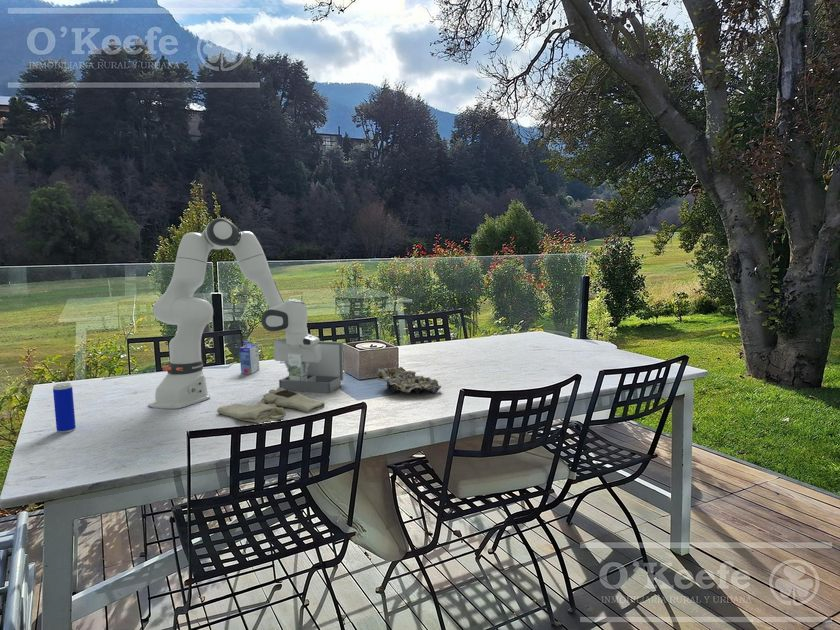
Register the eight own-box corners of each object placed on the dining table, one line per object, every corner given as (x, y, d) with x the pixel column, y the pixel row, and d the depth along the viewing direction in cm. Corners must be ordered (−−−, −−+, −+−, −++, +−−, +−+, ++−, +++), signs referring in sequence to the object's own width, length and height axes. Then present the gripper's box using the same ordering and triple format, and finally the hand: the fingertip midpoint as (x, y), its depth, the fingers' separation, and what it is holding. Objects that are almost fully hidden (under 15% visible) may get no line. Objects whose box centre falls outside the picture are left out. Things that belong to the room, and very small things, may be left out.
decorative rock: (399, 400, 212) (397, 373, 212) (369, 393, 234) (367, 369, 234) (448, 392, 223) (446, 366, 223) (414, 386, 245) (413, 363, 245)
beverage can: (79, 427, 184) (75, 382, 182) (69, 433, 178) (65, 386, 177) (62, 428, 183) (58, 382, 182) (53, 433, 178) (49, 386, 176)
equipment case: (330, 393, 224) (329, 348, 222) (279, 389, 230) (277, 345, 228) (343, 384, 238) (342, 342, 236) (295, 381, 243) (294, 340, 241)
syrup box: (308, 385, 236) (307, 351, 234) (301, 389, 230) (300, 354, 228) (295, 385, 237) (294, 350, 235) (288, 388, 232) (287, 353, 230)
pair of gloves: (283, 396, 221) (282, 383, 221) (327, 408, 206) (327, 394, 205) (213, 415, 198) (212, 400, 197) (257, 430, 182) (256, 414, 182)
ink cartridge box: (248, 369, 268) (247, 338, 266) (260, 369, 267) (258, 338, 265) (240, 374, 258) (238, 342, 256) (251, 374, 257) (250, 342, 255)
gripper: (270, 339, 231) (271, 372, 232) (316, 341, 226) (317, 375, 227) (277, 336, 237) (278, 369, 238) (323, 338, 232) (323, 371, 234)
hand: (298, 372), depth 233 cm, fingers closed on syrup box, 6 cm apart
